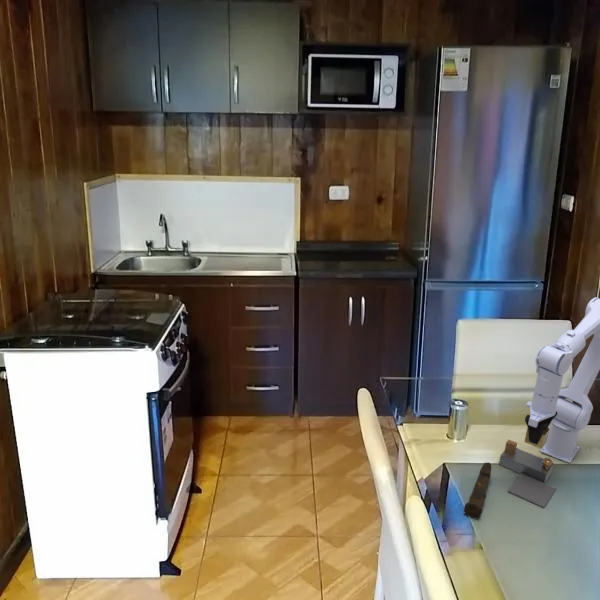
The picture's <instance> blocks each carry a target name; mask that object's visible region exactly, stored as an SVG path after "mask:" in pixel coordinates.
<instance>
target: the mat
mask: <svg viewBox="0 0 600 600" xmlns="http://www.w3.org/2000/svg"><path fill="white" fill-rule="evenodd" d="M556 490H557V489H556V488H555V487H553V486H551V485H549V484H546V483H545V484H544V483H542V482H539V481H537V480H535V479H532V478H530V477H528V476H525V475H523V474H520V473H519V475H518V476H517V478H516V479H515V481H513V483H512V485H511V486H510V487H509V488H508V490H507V493H509V494H511V495H514V496H515V497H518V498H520V499H522V500H525V501H527V502H529V503H531V504H533V505H536V506H537V507H540V508H542V509H545V507H546V506H547V505H548V503H549V501H550V500H551V499H552V497H553V495H554V493H555V492H556Z"/></svg>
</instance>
